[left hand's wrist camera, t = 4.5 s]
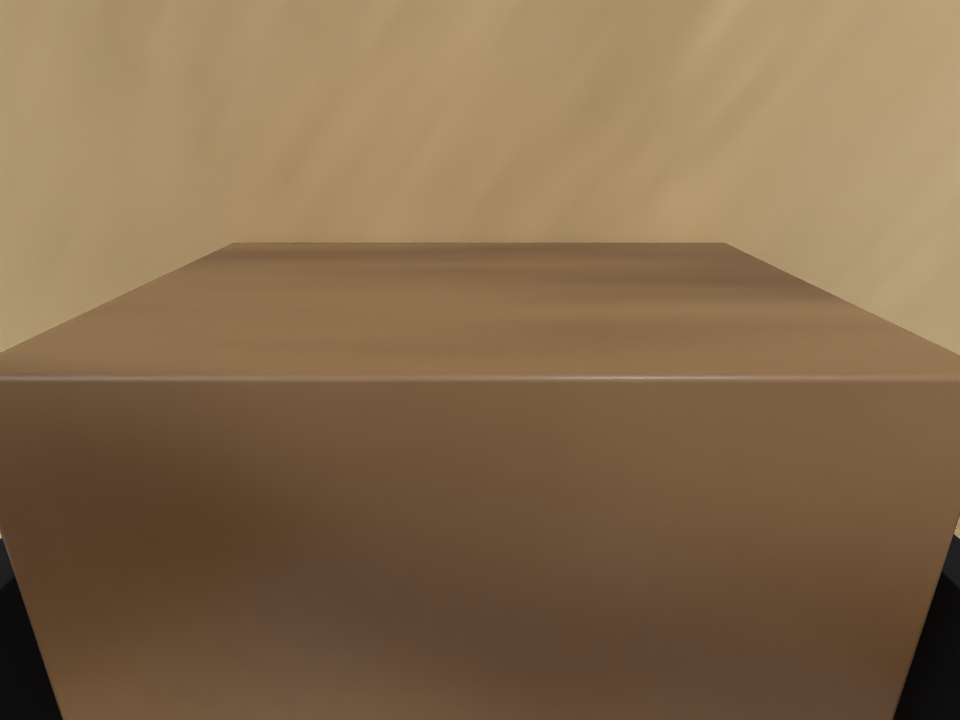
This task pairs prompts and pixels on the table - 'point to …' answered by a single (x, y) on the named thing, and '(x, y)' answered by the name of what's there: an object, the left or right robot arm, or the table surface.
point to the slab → (478, 488)
